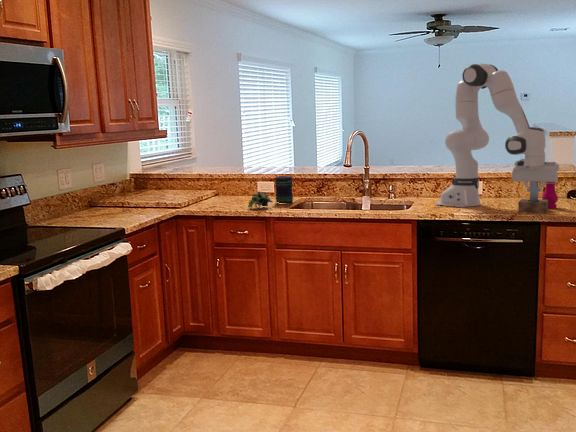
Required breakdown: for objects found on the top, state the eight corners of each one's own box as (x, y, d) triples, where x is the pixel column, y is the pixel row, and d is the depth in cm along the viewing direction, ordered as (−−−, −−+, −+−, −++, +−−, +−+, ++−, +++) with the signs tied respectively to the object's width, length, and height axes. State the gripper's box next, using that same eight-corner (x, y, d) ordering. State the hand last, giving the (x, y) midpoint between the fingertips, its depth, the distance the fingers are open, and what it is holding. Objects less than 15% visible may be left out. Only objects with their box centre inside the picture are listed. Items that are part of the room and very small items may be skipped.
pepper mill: (559, 208, 290) (560, 167, 287) (543, 209, 292) (544, 167, 288) (555, 206, 297) (557, 166, 294) (540, 206, 299) (541, 166, 295)
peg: (530, 201, 288) (530, 180, 287) (538, 201, 287) (538, 180, 285) (529, 202, 285) (529, 181, 284) (537, 202, 283) (538, 181, 282)
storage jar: (282, 201, 351) (281, 176, 349) (296, 202, 346) (295, 176, 343) (272, 204, 344) (271, 178, 341) (286, 204, 338) (285, 178, 335)
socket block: (518, 212, 286) (518, 201, 285) (521, 209, 294) (521, 198, 293) (545, 213, 280) (545, 202, 279) (547, 210, 288) (548, 199, 288)
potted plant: (263, 217, 333) (275, 199, 332) (259, 216, 322) (271, 198, 321) (247, 205, 335) (259, 187, 334) (242, 205, 324) (254, 186, 323)
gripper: (559, 161, 281) (558, 190, 283) (513, 161, 291) (512, 189, 293) (558, 162, 275) (557, 192, 277) (511, 162, 285) (510, 191, 287)
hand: (534, 191), depth 285 cm, fingers closed on peg, 4 cm apart
